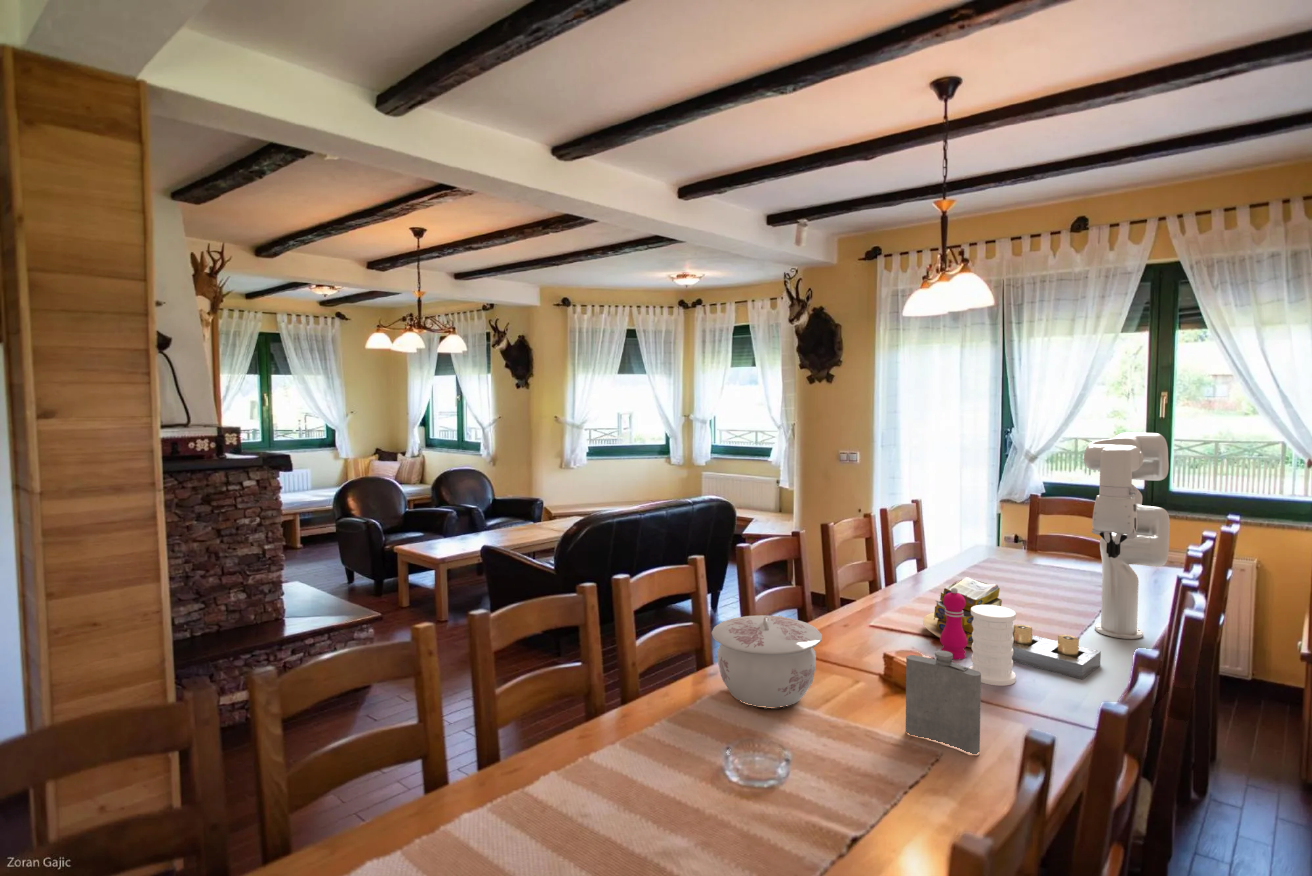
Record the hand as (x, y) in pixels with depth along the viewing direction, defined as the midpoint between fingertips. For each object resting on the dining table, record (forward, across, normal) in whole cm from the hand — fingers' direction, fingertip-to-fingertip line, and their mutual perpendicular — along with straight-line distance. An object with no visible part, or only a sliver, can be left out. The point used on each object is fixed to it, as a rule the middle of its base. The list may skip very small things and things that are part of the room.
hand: (1113, 556), depth 202 cm
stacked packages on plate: (+29, +37, +11) cm, 48 cm away
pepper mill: (+29, +31, +30) cm, 52 cm away
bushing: (+29, +6, +15) cm, 33 cm away
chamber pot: (+29, +50, +90) cm, 107 cm away
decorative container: (+29, +17, +37) cm, 50 cm away
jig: (+29, +12, +15) cm, 35 cm away
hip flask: (+29, +9, +80) cm, 86 cm away
